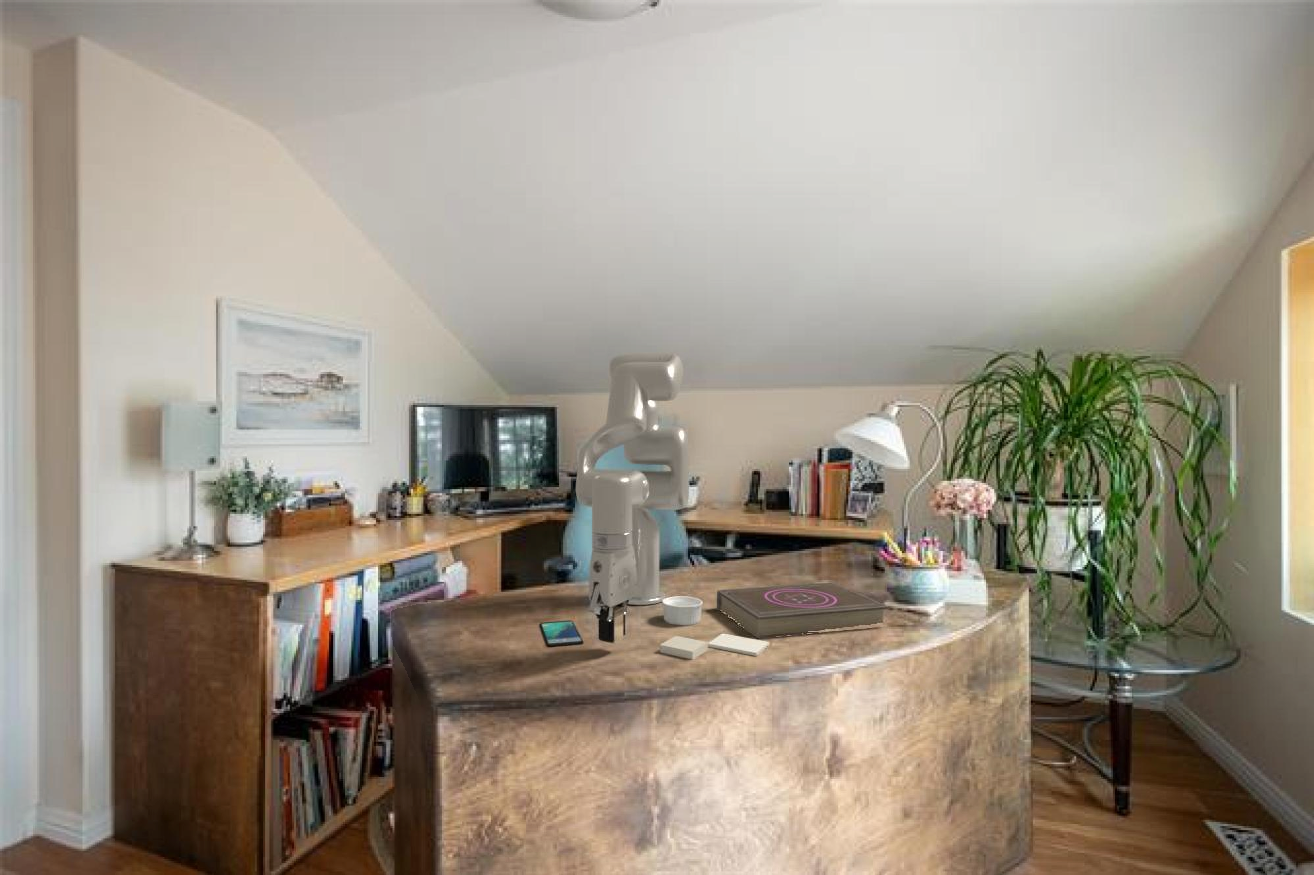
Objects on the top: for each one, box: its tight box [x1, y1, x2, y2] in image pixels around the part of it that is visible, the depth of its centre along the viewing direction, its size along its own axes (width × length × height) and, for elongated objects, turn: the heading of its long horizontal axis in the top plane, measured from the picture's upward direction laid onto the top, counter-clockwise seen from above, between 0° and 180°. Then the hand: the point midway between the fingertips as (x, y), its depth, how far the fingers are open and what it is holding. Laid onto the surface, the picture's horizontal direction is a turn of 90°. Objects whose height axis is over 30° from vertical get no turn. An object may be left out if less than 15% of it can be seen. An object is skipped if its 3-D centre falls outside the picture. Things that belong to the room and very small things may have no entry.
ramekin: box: [661, 595, 704, 626], centre depth 139 cm, size 9×9×4 cm
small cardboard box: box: [600, 606, 624, 645], centre depth 119 cm, size 3×3×6 cm
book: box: [716, 582, 890, 639], centre depth 142 cm, size 30×22×5 cm
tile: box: [659, 635, 709, 661], centre depth 120 cm, size 2×6×7 cm
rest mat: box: [708, 633, 770, 657], centre depth 123 cm, size 10×7×1 cm
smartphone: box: [539, 619, 584, 648], centre depth 129 cm, size 7×1×15 cm
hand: (612, 636), depth 119 cm, fingers closed on small cardboard box, 3 cm apart
